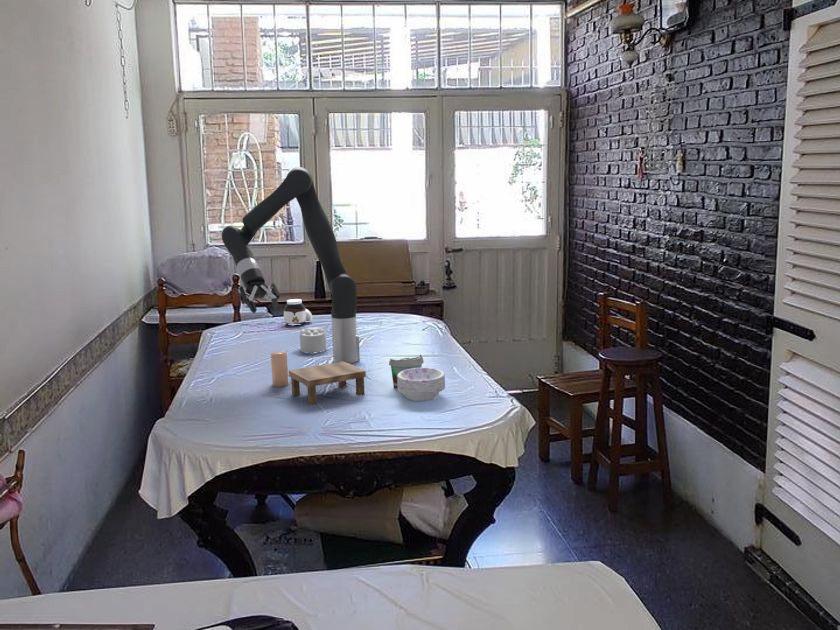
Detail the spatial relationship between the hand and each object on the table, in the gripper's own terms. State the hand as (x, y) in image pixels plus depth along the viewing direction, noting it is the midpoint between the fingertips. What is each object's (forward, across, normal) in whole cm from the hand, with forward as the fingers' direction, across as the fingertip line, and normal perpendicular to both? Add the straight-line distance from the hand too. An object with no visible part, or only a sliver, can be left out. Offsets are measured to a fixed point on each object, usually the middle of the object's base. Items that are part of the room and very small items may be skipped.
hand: (266, 310), depth 283 cm
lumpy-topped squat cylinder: (-1, +35, +36) cm, 50 cm away
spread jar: (-36, +58, +73) cm, 100 cm away
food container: (+47, +29, -17) cm, 58 cm away
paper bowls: (+55, +25, -25) cm, 65 cm away
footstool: (+39, +5, -7) cm, 40 cm away
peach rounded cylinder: (+25, -1, +9) cm, 26 cm away
